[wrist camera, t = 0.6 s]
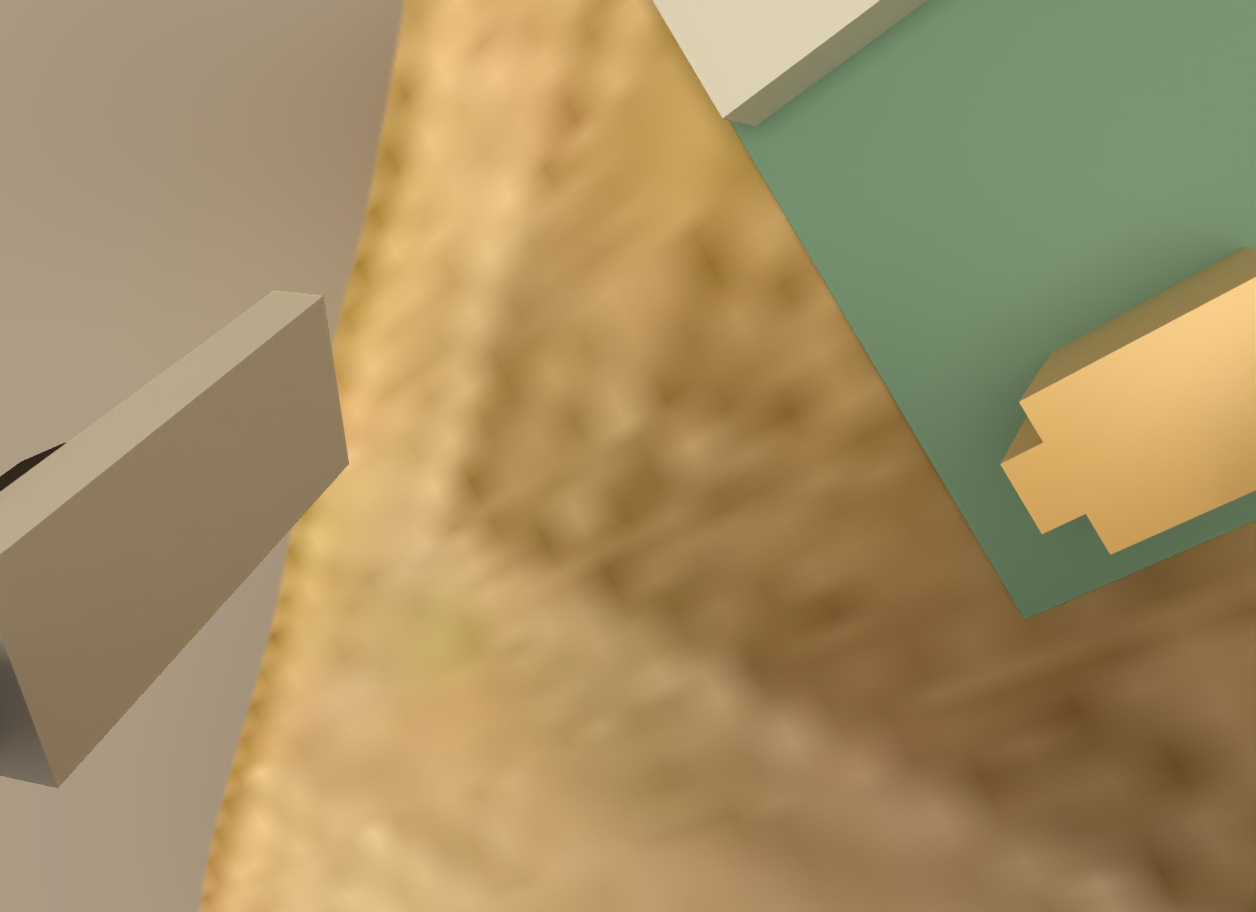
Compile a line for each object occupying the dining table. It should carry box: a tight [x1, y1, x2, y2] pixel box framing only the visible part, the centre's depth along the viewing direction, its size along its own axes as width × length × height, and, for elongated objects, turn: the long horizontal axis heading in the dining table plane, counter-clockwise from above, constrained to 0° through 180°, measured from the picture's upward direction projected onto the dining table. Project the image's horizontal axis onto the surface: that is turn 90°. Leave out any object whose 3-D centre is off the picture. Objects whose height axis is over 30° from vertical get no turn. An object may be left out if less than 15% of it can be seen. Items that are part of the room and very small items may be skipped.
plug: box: [1000, 247, 1256, 555], centre depth 22 cm, size 3×5×8 cm, turn 123°
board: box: [653, 0, 1256, 620], centre depth 25 cm, size 21×12×4 cm, turn 33°
